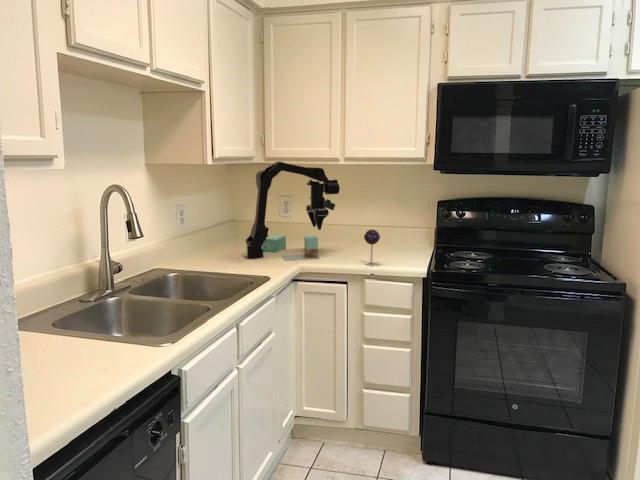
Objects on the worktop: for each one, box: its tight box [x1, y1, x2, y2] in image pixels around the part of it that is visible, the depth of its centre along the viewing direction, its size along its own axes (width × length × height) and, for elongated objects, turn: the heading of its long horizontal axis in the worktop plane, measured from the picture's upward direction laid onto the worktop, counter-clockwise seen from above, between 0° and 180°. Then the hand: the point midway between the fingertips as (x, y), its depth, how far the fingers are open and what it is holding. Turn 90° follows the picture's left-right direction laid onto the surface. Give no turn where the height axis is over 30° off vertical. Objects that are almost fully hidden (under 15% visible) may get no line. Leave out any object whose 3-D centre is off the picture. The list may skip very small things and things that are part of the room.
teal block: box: [303, 235, 319, 250], centre depth 240 cm, size 5×5×5 cm
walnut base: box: [304, 247, 319, 258], centre depth 241 cm, size 5×5×4 cm
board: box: [280, 253, 321, 262], centre depth 240 cm, size 16×12×1 cm
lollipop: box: [363, 229, 381, 265], centre depth 231 cm, size 7×7×15 cm
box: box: [262, 234, 287, 253], centre depth 258 cm, size 7×14×8 cm, turn 164°
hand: (316, 228), depth 249 cm, fingers open, 9 cm apart
